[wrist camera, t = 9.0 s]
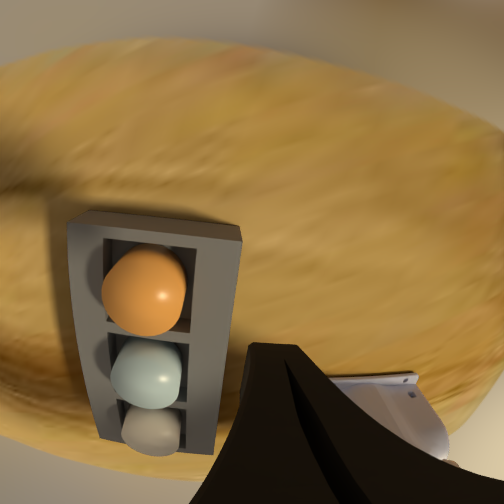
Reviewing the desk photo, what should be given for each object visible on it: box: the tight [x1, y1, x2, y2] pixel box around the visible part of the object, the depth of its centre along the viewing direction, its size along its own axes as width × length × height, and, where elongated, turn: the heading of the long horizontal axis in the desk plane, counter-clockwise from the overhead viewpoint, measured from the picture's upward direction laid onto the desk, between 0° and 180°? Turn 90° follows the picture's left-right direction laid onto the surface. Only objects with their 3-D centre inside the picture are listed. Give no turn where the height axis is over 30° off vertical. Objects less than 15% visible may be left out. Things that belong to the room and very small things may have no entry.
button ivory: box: [121, 403, 182, 456], centre depth 18 cm, size 4×4×3 cm
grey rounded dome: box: [110, 336, 183, 409], centre depth 17 cm, size 4×4×3 cm
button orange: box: [102, 243, 188, 336], centre depth 15 cm, size 4×4×3 cm
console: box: [67, 210, 243, 455], centre depth 18 cm, size 9×17×3 cm, turn 171°
